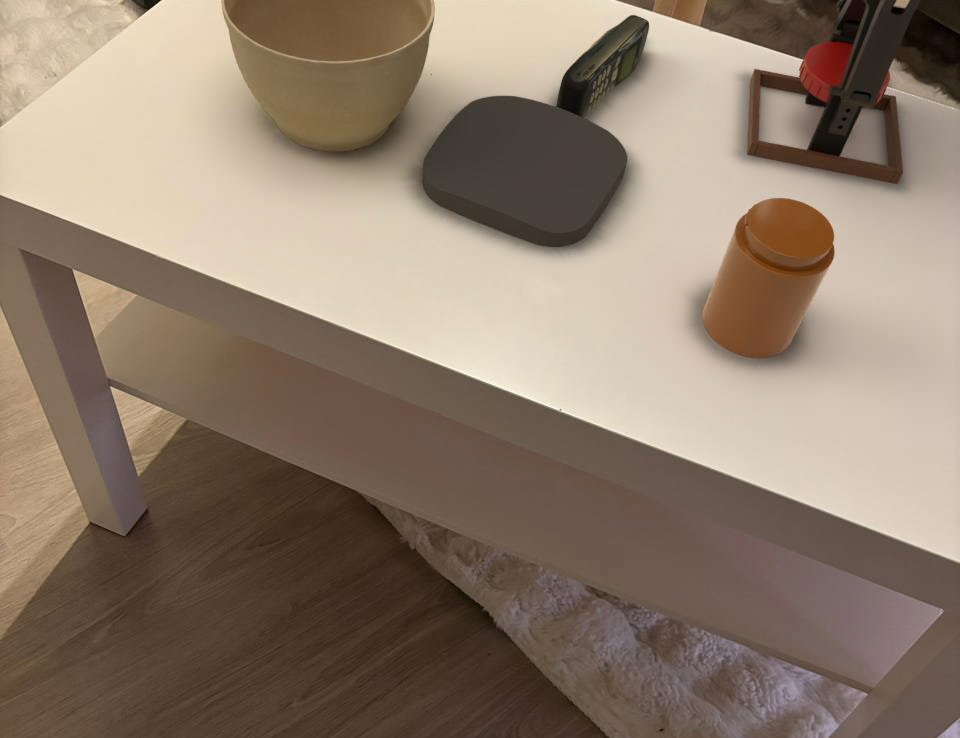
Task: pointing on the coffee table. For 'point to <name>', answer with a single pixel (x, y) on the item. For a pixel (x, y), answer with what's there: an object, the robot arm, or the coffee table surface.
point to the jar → (768, 277)
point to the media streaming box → (525, 169)
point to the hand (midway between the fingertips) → (820, 130)
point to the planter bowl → (331, 63)
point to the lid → (828, 69)
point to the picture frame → (817, 158)
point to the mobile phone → (603, 66)
